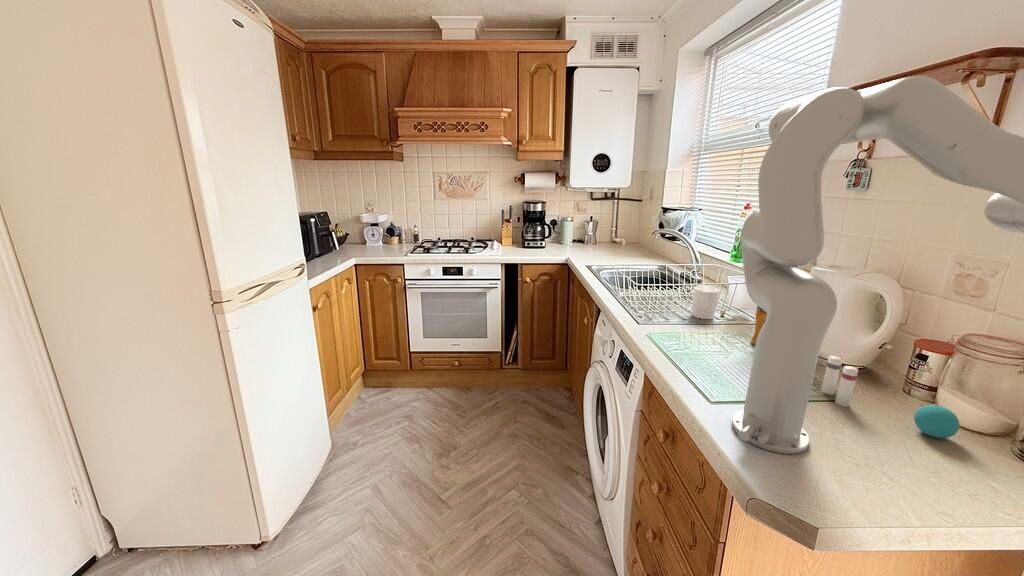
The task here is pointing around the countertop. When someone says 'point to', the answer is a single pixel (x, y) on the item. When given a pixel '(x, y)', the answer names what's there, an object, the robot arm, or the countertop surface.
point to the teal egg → (936, 421)
